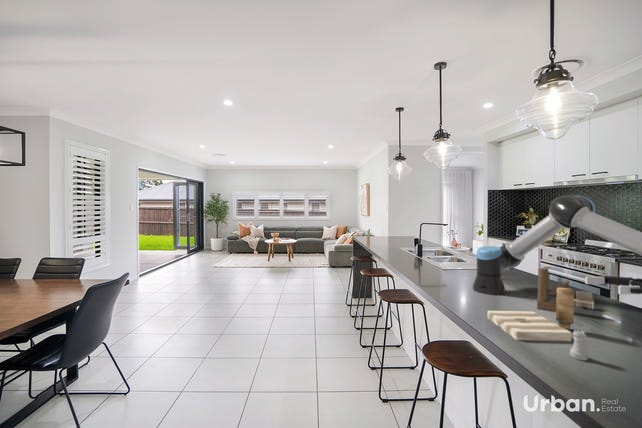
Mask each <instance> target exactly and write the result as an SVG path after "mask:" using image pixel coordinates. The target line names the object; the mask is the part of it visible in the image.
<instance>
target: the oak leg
mask: <svg viewBox="0 0 642 428" xmlns="http://www.w3.org/2000/svg"><path fill="white" fill-rule="evenodd" d="M574 299H575V289H572V288H569V289H568V288H557V295H556V311H555V321H556V322H558V325H559V326H560V327H562V328H564V329H566V330H568V331H570V329H571V325H573V324H574V323H575V321H574V316H575V315H574V314H575V312H574V311H575V301H574Z"/></svg>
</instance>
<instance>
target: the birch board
mask: <svg viewBox="0 0 642 428" xmlns="http://www.w3.org/2000/svg"><path fill="white" fill-rule="evenodd" d="M486 313H487V317H486V318H487V319H488V320H490V321H491V322H492V323H494V324H495V325H496V326H497V327H499V328H500V329H502V331H504V332H505V333H507V334H509V336H511V338H513V339H515V340H516V341H540V342H541V341H546V342H549V341H550V342H572V335H573V332H572V331H570V330H569V331H568V330H566V329H564V328H562V327H560V326H559V324H557V323H555V322H553V321H551V320H549V319H548V318H546V317H545V316H542V315H540V314H538V313H537V312H534V311H532V310H531V311H526V310H525V311H524V310H522V311H520V310H487V312H486Z"/></svg>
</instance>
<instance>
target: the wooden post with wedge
mask: <svg viewBox="0 0 642 428" xmlns="http://www.w3.org/2000/svg"><path fill="white" fill-rule="evenodd" d="M537 273H538V275H537V299H536V309H537V310H544V311H551V312H556V303H557V301H553V300H548V299H549V298H548V297H549V296H548V295H551V296H557V288H568V289H570V280H569V279H568V278H567V279H565V280H563V282H561V283H559V284H558V285H557V286H555V287H553V288H552V289H550V290H549V268H545V267H539V268H538V272H537Z"/></svg>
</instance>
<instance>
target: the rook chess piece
mask: <svg viewBox="0 0 642 428" xmlns="http://www.w3.org/2000/svg"><path fill="white" fill-rule="evenodd" d="M572 335H573V345H572V346H571V348H570V349H569V355H570V357H572V358H573V359H576V360H578V361H583V362H584V361H588V360H589V359H590V358H589V354H588V353H589V352H588V350H587V349H586V346H585V345H586V337H587V335H586V331H584V330H581V331H580V330H579V329H574V330H573V332H572Z"/></svg>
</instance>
